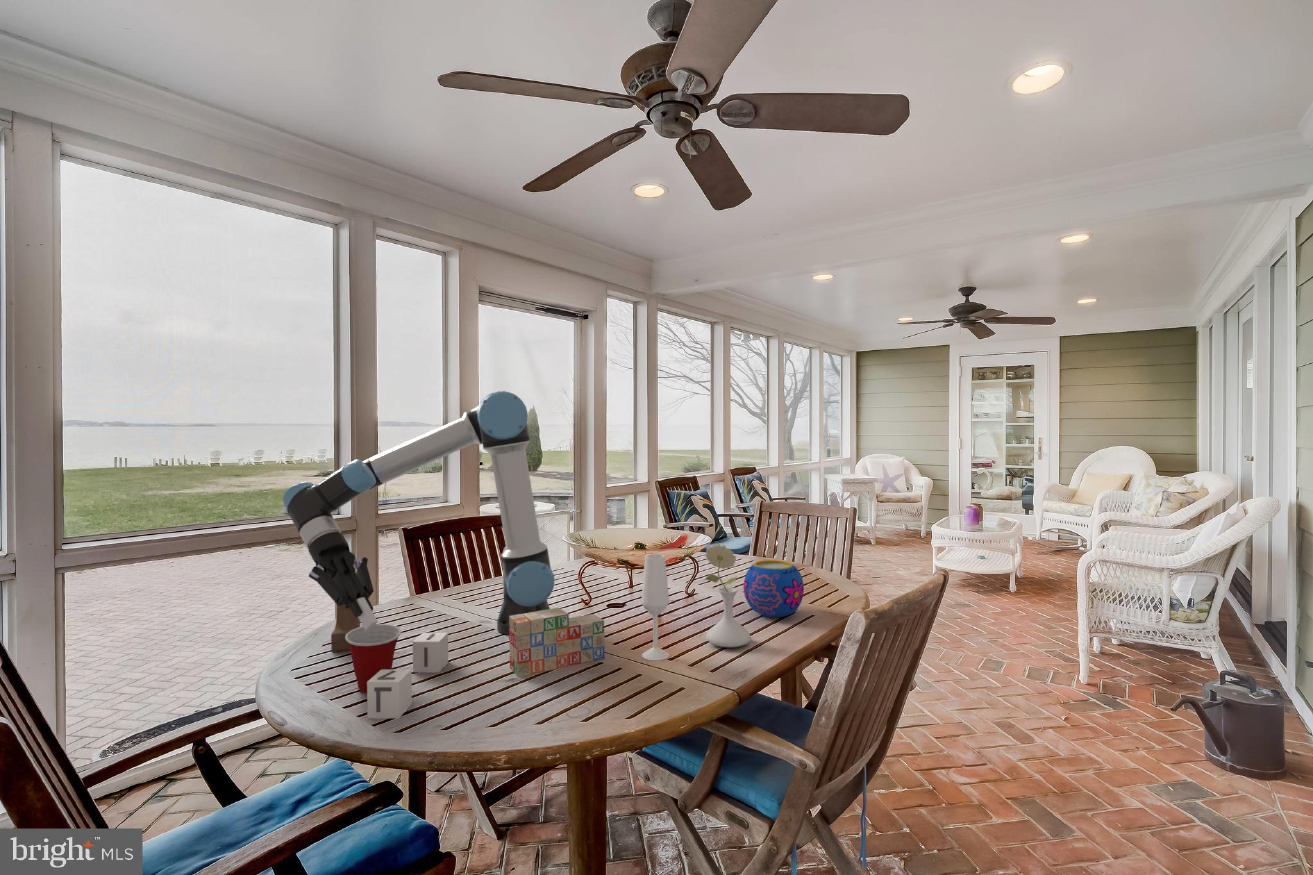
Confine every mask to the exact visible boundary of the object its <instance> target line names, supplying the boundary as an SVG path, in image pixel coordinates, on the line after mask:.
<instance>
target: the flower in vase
mask: <svg viewBox="0 0 1313 875" xmlns="http://www.w3.org/2000/svg"><path fill="white" fill-rule="evenodd" d="M734 553H735V552H734V551H733V550H731V548H727V546H726V545H725V544H724V545H720V544H718V543H717V545H716V544H713V545H711V546H708V547H707V548H706V551H705V554H704V556H705V557H706V560H707V561H709V562H708V563H709V564H710V565H712V566H714V567H717V575H715V574H712V573H711V574H708V575H707V576H706V577H705V578H704V580H706V581H708V582H709V581H710V582H711V583H712V582H713V583H718V582H719V581H720V582H721V585H722V586H723V587H720V588H718V589H717V591H718V592H719V593H720V595H721V598H722V603H723V616H722V619H720V621H719V622H718V623H716V624H714V626H712V627H711V628H710V629H709V630H708V631H707V632H706V635H705V638H706V640H707V641H708V643H710V644H712V645H714V646H718V647H722V648H739V647H742V646H743V647H744V645H747V644H749V643H750V641H751V639H752V636H751V633H750V632H749V631H748V629H746V628H745V627H744V626H743V625H741V624H740V623H739V622H737V620H736V619H735V618H734V614H733V607H734V600H735V596H736V594H737V593H738V592H739V589H738V588H736V587H731V586H730V587H729V586H726V585H730V584H732V583H735V581H736V580H737V579H738V577H739V576H738V575H737V576H736V577H732V578H730V579H728V580H727V581H726V582H723V580H722V578H721V577H720V576H721V575H720V569H723V570H725V569H730V568H731V567H734V566H735V565H734V564H735V563H736V561H737V559H736V555H735V554H734Z"/></svg>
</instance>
